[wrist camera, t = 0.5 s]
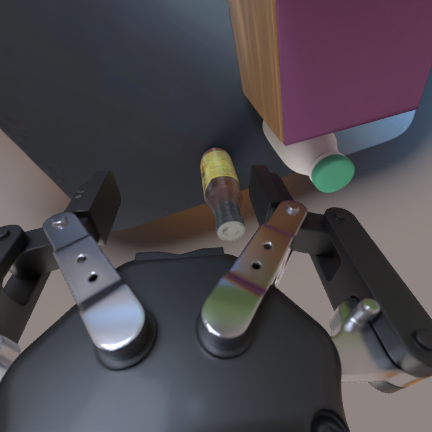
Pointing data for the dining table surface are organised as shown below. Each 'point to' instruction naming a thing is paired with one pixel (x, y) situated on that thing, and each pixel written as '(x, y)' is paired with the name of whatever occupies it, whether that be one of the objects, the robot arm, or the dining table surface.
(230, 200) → the sauce bottle
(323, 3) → the towel
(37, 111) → the dining table surface
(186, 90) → the dining table surface
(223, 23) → the dining table surface
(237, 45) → the oak stand
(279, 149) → the milk bottle
